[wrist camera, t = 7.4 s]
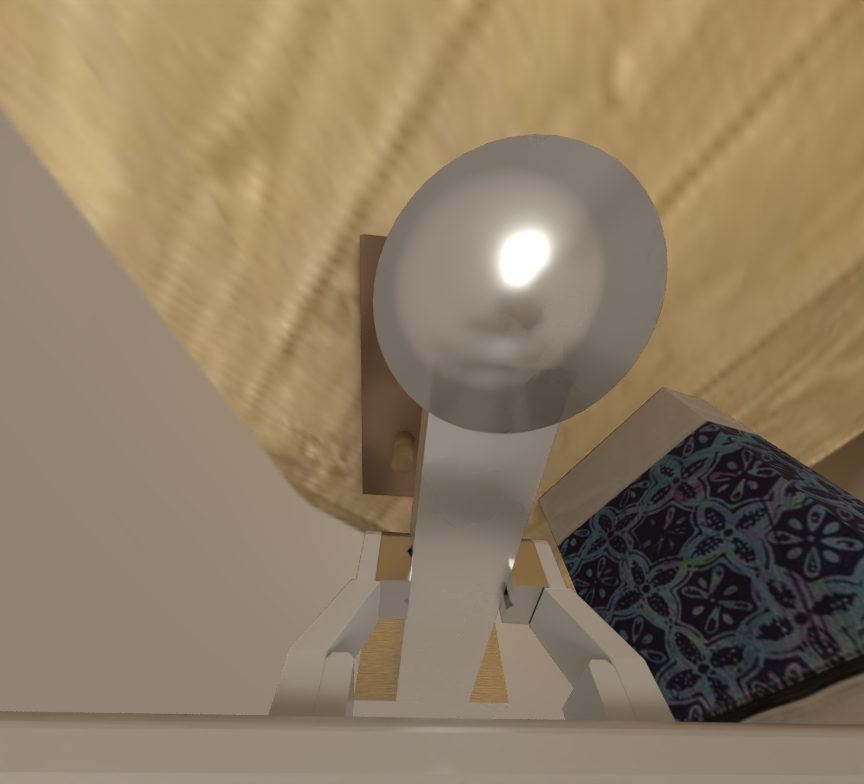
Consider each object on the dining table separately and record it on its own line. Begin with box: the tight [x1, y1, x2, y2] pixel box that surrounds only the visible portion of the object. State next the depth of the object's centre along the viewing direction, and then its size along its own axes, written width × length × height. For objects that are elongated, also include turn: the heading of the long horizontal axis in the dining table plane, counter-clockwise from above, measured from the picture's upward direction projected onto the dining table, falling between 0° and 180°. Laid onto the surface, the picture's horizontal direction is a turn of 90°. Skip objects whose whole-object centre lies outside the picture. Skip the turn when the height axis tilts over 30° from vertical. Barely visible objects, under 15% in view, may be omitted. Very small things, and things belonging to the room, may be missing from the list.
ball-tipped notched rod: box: [354, 134, 667, 719], centre depth 11 cm, size 23×6×3 cm, turn 174°
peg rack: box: [360, 235, 422, 497], centre depth 25 cm, size 14×22×5 cm, turn 175°
